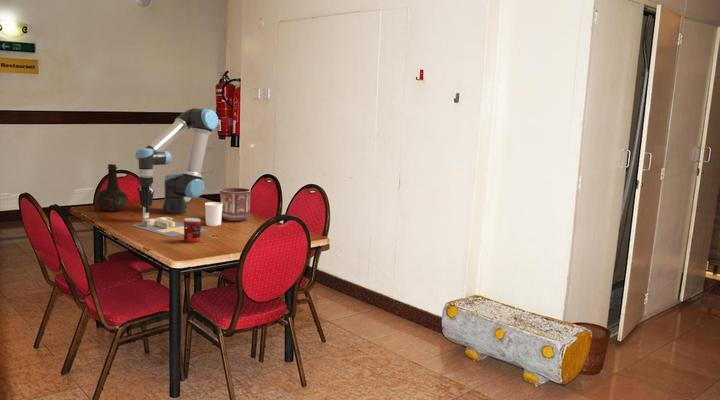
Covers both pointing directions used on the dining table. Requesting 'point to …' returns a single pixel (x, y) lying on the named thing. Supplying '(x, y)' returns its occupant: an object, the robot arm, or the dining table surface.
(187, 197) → the teacup
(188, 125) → the robot arm
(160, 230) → the push mat
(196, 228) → the canned food
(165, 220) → the t block
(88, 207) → the dining table surface
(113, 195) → the dark mottled flask
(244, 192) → the pottery
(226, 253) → the dining table surface
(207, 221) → the candle holder
